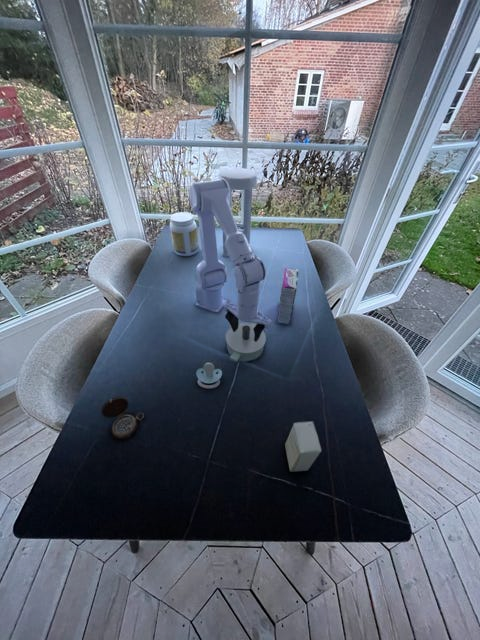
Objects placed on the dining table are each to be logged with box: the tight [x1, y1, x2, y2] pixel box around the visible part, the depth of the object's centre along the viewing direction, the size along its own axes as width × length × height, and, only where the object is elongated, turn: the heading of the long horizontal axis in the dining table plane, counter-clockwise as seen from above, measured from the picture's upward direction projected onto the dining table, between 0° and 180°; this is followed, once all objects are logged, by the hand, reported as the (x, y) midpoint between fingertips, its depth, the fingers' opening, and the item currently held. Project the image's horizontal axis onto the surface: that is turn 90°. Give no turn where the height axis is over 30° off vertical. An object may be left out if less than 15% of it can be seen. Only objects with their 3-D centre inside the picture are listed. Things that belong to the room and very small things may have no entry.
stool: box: [217, 167, 258, 257], centre depth 118 cm, size 16×16×35 cm
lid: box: [225, 322, 267, 354], centre depth 81 cm, size 13×13×5 cm
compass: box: [100, 396, 145, 440], centre depth 64 cm, size 8×8×7 cm
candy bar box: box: [276, 267, 299, 325], centre depth 92 cm, size 11×5×16 cm, turn 168°
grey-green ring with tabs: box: [226, 323, 265, 363], centre depth 84 cm, size 12×17×4 cm
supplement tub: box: [169, 211, 200, 257], centre depth 124 cm, size 12×12×17 cm
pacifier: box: [196, 362, 223, 389], centre depth 74 cm, size 7×6×6 cm
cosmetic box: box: [284, 420, 322, 473], centre depth 58 cm, size 6×4×12 cm
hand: (245, 334), depth 82 cm, fingers open, 7 cm apart
